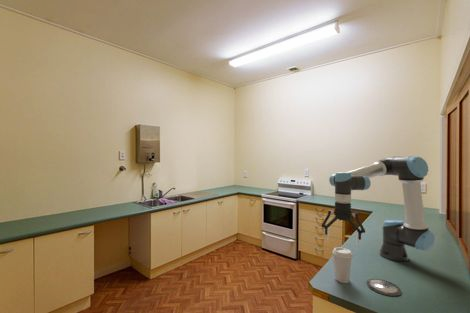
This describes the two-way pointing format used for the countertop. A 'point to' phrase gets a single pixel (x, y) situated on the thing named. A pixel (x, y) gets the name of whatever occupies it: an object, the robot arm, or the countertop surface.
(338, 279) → the coffee cup
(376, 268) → the countertop surface
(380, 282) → the plate
